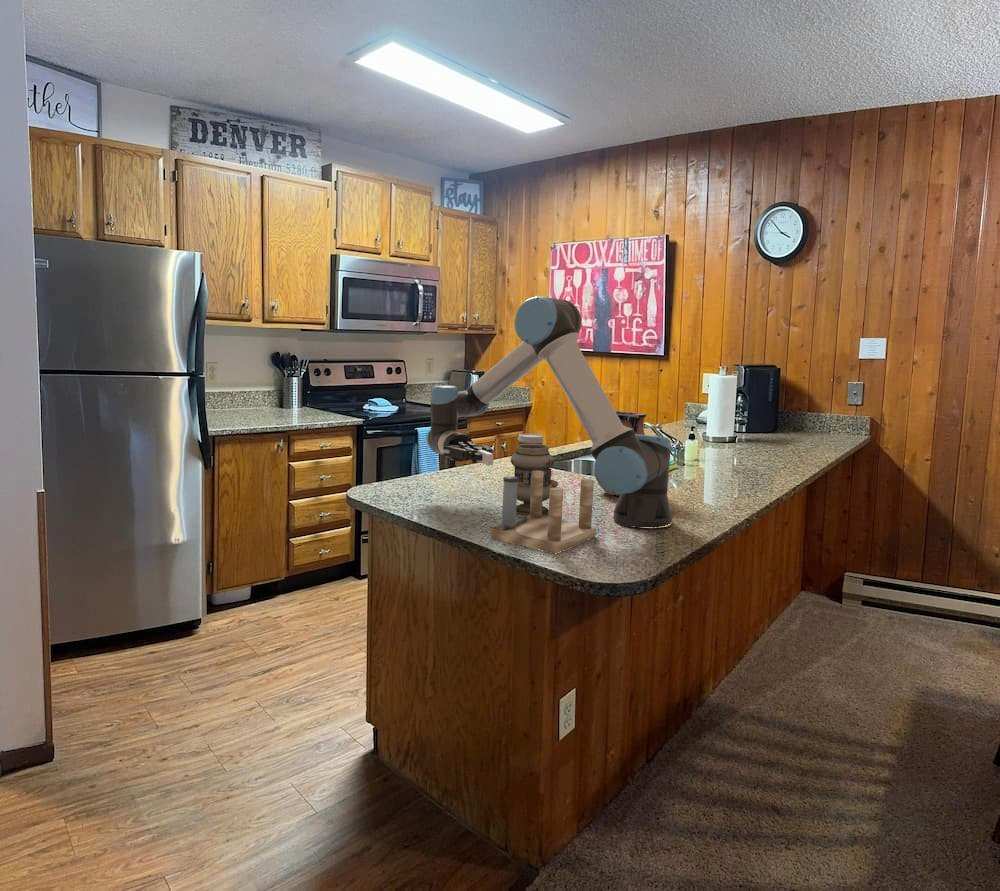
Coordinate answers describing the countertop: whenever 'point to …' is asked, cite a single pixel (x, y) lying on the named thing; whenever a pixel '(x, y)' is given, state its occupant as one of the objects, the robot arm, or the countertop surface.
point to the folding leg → (510, 503)
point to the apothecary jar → (525, 463)
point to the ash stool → (550, 520)
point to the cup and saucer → (552, 482)
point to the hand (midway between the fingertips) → (490, 459)
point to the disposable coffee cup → (530, 439)
